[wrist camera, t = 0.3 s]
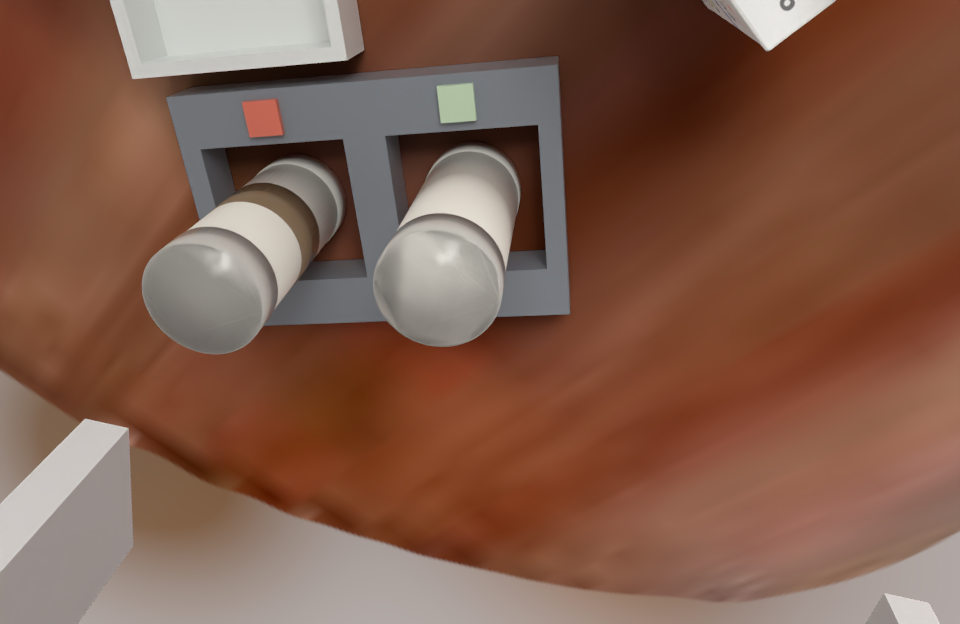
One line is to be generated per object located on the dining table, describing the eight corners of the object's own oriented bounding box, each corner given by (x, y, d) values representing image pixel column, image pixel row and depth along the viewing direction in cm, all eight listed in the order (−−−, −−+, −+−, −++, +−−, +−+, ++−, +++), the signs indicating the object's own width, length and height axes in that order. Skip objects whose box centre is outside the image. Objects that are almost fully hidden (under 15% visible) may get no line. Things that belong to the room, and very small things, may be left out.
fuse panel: (190, 87, 37) (162, 98, 35) (558, 55, 35) (557, 66, 32) (246, 306, 42) (226, 329, 40) (569, 292, 40) (570, 317, 37)
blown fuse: (248, 157, 38) (125, 245, 28) (338, 151, 38) (247, 238, 27) (269, 243, 40) (161, 356, 30) (354, 238, 40) (275, 352, 29)
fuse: (422, 145, 37) (363, 232, 27) (517, 138, 37) (496, 224, 26) (434, 234, 39) (383, 348, 29) (524, 229, 39) (507, 344, 28)
